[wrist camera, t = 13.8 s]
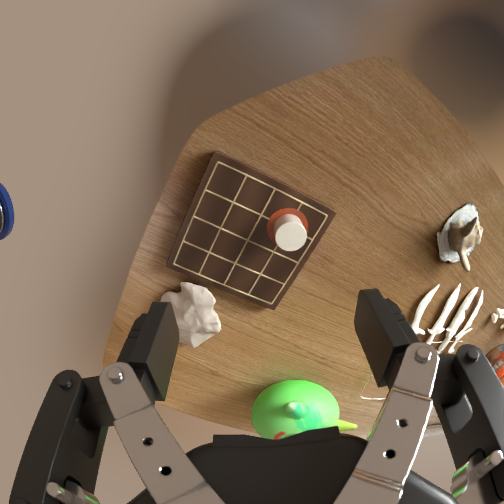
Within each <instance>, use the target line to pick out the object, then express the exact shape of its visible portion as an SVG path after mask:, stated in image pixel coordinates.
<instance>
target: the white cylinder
mask: <svg viewBox="0 0 504 504" xmlns="http://www.w3.org/2000/svg"><path fill="white" fill-rule="evenodd" d="M273 230H274V235H275V240H276V243H277V245H278V246H279V247H280V248H281V249H283V250H286V251H295V250H298V249H299V248H301V247H302V246H303V245H304V243H305V242H306V239H307V233H306V230H305V228H304V226H303V223H302V221H301V220H300V219H299V218H298V217H297V216H295V215H292V214H286V215H282V216H281V217H279V218H278V219H277V220H276V221H275V223H274V227H273Z"/></svg>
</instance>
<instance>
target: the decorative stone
mask: <svg viewBox="0 0 504 504" xmlns="http://www.w3.org/2000/svg"><path fill="white" fill-rule="evenodd" d="M180 286H181V289H182V290H181V292H180V293H174V292H171V291H168V292H166V293H165V294H163V296H162V297H161V301H160V302H171V304H172V307H173V310H174V314H175V318H176V321H177V325H178V329H179V343H185V344H187V345H189V346H190V347H192V348H195V347H197V346H198V345H199V344H201V343H202V342H204V341H206V340H207V339H208V338H210V337H211V336H214V335H215V334H216V333H219V331H220V329H221V323H220V320H219V318H218V315H217V313H216V312H215V311H214V310H213V306H214V304H215V302H216V301H215V298H214V297H213V295H212V294H211V293H210V292H209V291H208V289H207V288H205V287H203V286H199V285H194V284H192V283H189V282H182V283H180Z"/></svg>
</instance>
